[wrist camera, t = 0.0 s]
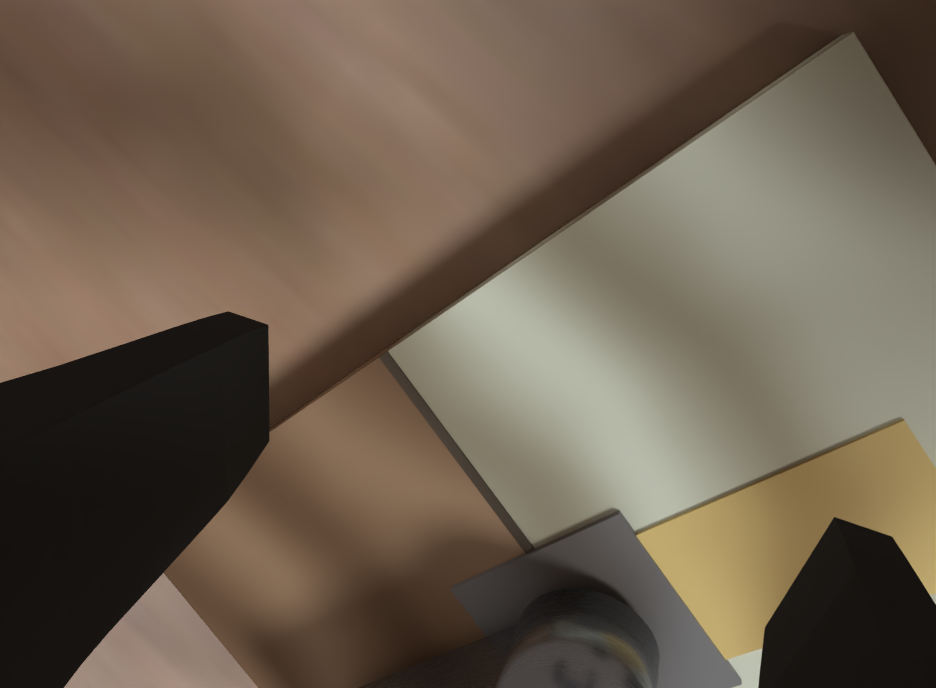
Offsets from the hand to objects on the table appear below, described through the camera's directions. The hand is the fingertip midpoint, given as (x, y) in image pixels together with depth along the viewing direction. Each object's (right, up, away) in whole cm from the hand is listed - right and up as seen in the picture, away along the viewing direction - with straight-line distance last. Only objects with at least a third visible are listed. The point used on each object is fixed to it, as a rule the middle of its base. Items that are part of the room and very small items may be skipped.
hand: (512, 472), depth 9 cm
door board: (+3, -5, +13) cm, 14 cm away
